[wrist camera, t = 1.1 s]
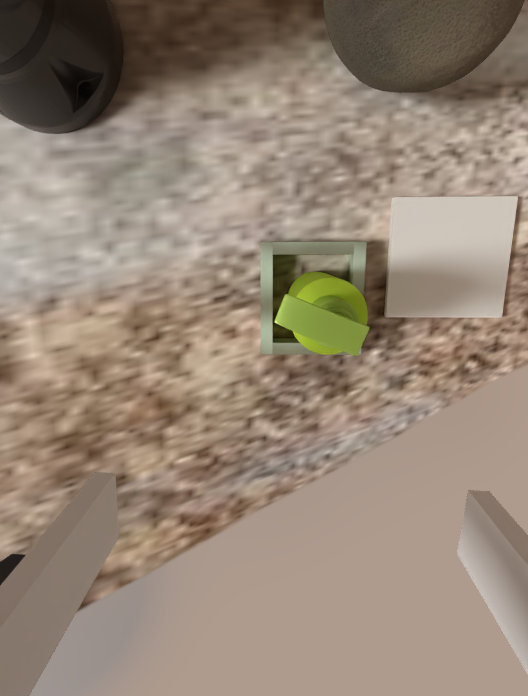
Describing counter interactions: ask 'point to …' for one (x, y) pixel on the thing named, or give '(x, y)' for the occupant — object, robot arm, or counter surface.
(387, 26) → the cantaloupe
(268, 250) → the frame
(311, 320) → the soap dispenser
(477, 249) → the mat
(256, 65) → the counter surface
